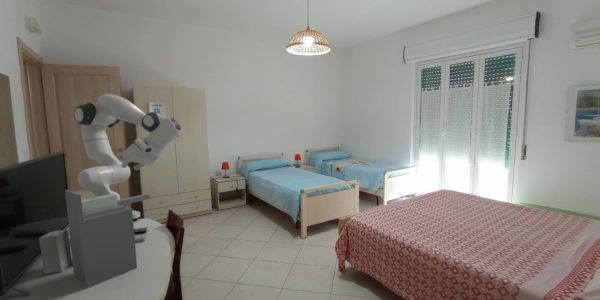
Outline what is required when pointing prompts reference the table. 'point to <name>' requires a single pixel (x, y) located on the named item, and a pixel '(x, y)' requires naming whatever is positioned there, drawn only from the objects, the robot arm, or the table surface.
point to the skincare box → (55, 251)
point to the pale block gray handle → (108, 202)
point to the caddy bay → (100, 241)
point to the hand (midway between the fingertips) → (129, 168)
